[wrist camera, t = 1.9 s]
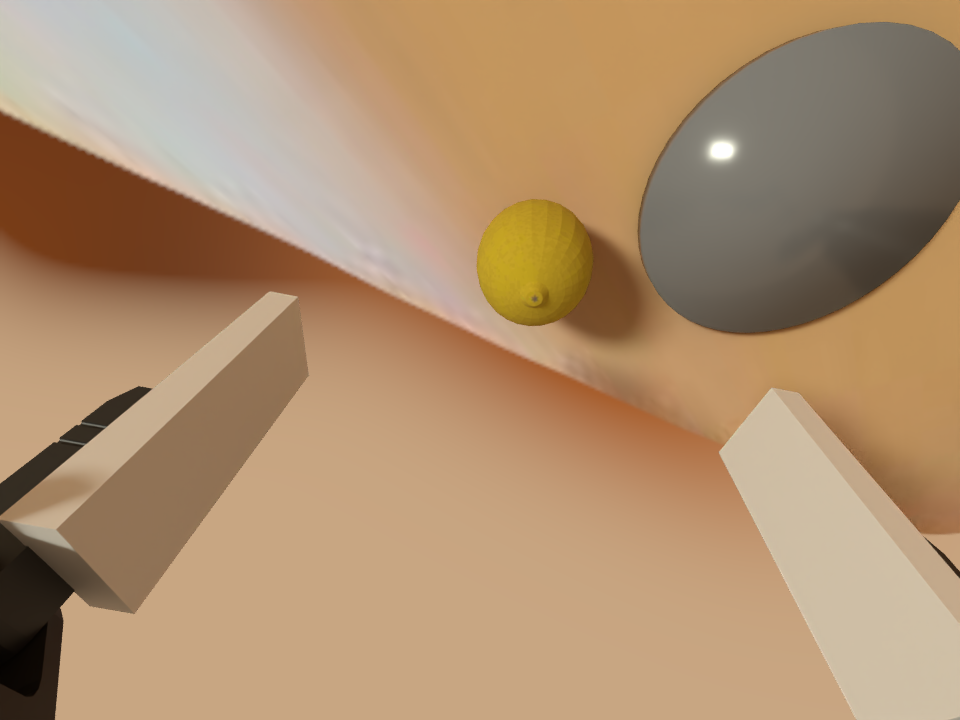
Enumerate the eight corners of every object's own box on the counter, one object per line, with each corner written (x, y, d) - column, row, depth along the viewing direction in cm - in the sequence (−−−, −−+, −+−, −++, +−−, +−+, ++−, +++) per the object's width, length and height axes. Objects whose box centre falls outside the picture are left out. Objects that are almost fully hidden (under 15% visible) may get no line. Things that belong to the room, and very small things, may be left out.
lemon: (581, 277, 23) (601, 353, 17) (490, 283, 24) (474, 357, 18) (585, 178, 20) (610, 223, 14) (479, 189, 21) (456, 236, 14)
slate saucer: (1057, 62, 16) (1086, 61, 15) (821, 343, 24) (831, 352, 23) (721, -8, 16) (731, -13, 15) (601, 299, 24) (603, 307, 23)
